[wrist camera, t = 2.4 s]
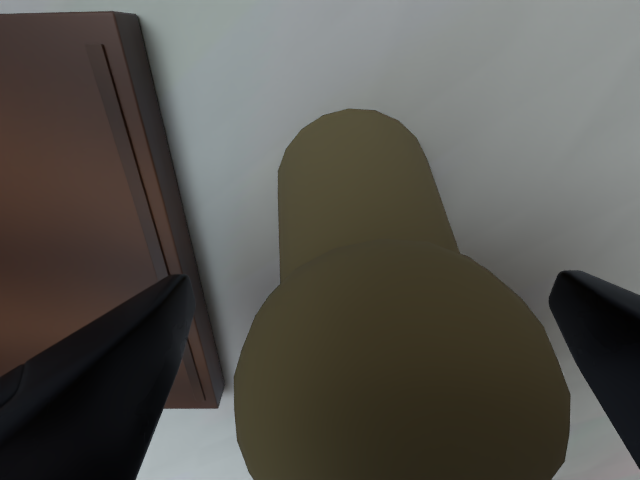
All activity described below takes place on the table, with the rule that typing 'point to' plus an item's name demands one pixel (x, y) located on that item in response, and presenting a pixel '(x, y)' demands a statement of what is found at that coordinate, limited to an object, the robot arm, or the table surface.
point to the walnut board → (88, 190)
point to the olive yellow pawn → (389, 331)
